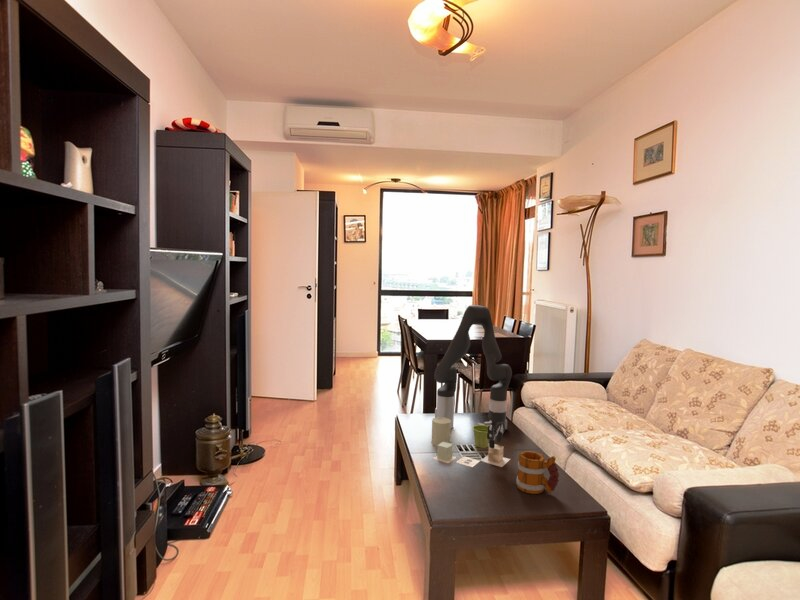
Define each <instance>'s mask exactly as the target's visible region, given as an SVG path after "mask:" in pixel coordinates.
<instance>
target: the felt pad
mask: <svg viewBox="0 0 800 600" xmlns="http://www.w3.org/2000/svg"><path fill="white" fill-rule="evenodd" d="M510 460H511V458H507V457H504V456H503V460H502V461H501V462H500V463H496V462H492V461H489V460H488V454H487V455H485V456H484V457H483V458H482V459H480V462H482V463H486V464H489V465H493V466H496V467H499V468H503V467H504V466H505V465H506V464H507V463H508V462H509V461H510Z"/></svg>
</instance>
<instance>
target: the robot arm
mask: <svg viewBox="0 0 800 600" xmlns="http://www.w3.org/2000/svg"><path fill="white" fill-rule="evenodd" d="M462 315H463V316H462V318H461V321H460V323H459V326H458V328H457V330H456V332H455V335H454V336H453V338H452V340H451V342H450V344H449V346H448V348H447V350H446V352H445V354H444V356H443V357H442V359H441V360H440V361H439V363H438V365H437V366H436V367H435V370H434V374H433V375H434V376H433V377H434V380H435V382H437V383H438V384H442V386H440V387H439V388H438V389H437V391H436V407H435V409H434V418H436V417H444V418H448V419H450V420H451V427H450V430H451V429H453V428H454V419H455V418H454V416H455V393H456V390H457V382H458V372H457V368H456V367H455V364H456V363H458V362H459V361H461V359H463V358H464V357H465V356H466V354H467V353H468V350H469V349H470V347H471V337H470V333H469V331H470V329H471V327H472V326H473V325H479V326H482V328H483V331H484V332H483V337H482V340H481V341H482V342H481V348H482V352H483V354H484V357H485V361H486V374H487V377H488V378H489V380H491V381H495V382H496V381H498V383H496V384H493V385H491V386H490V391H489V403H488V416H487V417H488V420H489V421H490V420H491V421H492V423H491V426H490V425H488V433H487V439H489V444H488V448H489V447H490V448H494V447H495V444H496V442H498V443H502V442H503V435H504V432H506V429H505V420H507V408H508V407H507V396H508V395H507V394H508V392H507V391H508V388H509V386H510V383H511V380H512V378H513V377H512V376H513V370H512V367H511V366H510V365H509V364H508V363H507V364H506V363H500V364H498V362H499V361H501V360H502V357H503V356H502V352H501V350H500V348H499V345H498V343H497V340H496V339H497V338H496V335H495V331H494V325H493V321H492V314H491V312H490V310H489V308H488V307H487V306H485V305H476V304H471V305H468V306H467V307H466V308H465V311H464V313H463V314H462ZM489 434H490V435H489Z"/></svg>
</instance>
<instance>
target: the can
mask: <svg viewBox="0 0 800 600" xmlns="http://www.w3.org/2000/svg"><path fill="white" fill-rule="evenodd" d="M450 427H451V420H450V419H448V418H444V417H436V418H435V417H433V418H432V419H431V441H430V443H431V444H432V445H433V446H435V447H438V444H440V443H442V442H446V443H450V444H451V429H450Z"/></svg>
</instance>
